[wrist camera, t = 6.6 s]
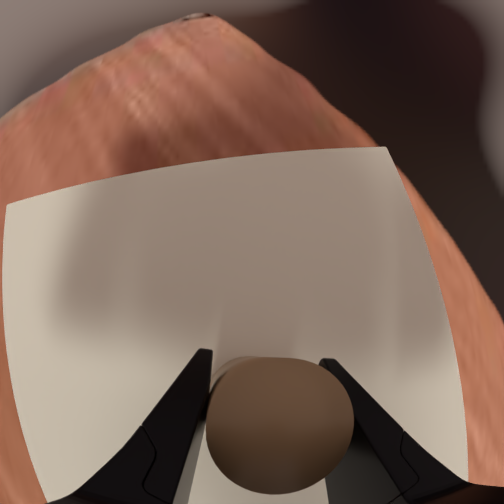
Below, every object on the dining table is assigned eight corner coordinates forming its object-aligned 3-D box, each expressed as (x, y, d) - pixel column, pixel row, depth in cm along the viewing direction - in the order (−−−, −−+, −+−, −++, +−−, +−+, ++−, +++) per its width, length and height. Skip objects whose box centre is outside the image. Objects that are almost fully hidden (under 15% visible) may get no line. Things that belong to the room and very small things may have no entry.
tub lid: (105, 569, 9) (65, 650, 1) (25, 221, 14) (-57, 139, 7) (446, 481, 13) (541, 509, 5) (370, 166, 18) (439, 77, 11)
